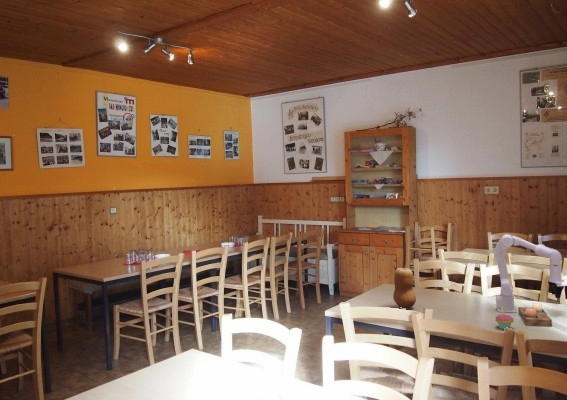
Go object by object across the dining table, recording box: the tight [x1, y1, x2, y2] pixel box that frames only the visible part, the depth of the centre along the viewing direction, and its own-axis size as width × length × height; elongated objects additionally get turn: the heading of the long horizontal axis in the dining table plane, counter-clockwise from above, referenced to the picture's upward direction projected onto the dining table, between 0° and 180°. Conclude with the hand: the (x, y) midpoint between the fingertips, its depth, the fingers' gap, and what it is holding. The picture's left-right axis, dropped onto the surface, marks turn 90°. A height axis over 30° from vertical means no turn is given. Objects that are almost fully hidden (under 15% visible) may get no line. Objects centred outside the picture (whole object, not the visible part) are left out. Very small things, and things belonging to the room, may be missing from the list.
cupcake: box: [495, 306, 514, 330], centre depth 244 cm, size 9×8×12 cm
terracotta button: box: [526, 307, 536, 318], centre depth 251 cm, size 5×5×5 cm
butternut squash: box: [392, 267, 417, 309], centre depth 288 cm, size 14×13×25 cm
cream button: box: [531, 302, 543, 312], centre depth 259 cm, size 5×5×5 cm
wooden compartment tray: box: [517, 306, 553, 328], centre depth 255 cm, size 12×22×4 cm, turn 163°
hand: (556, 296), depth 262 cm, fingers open, 7 cm apart
